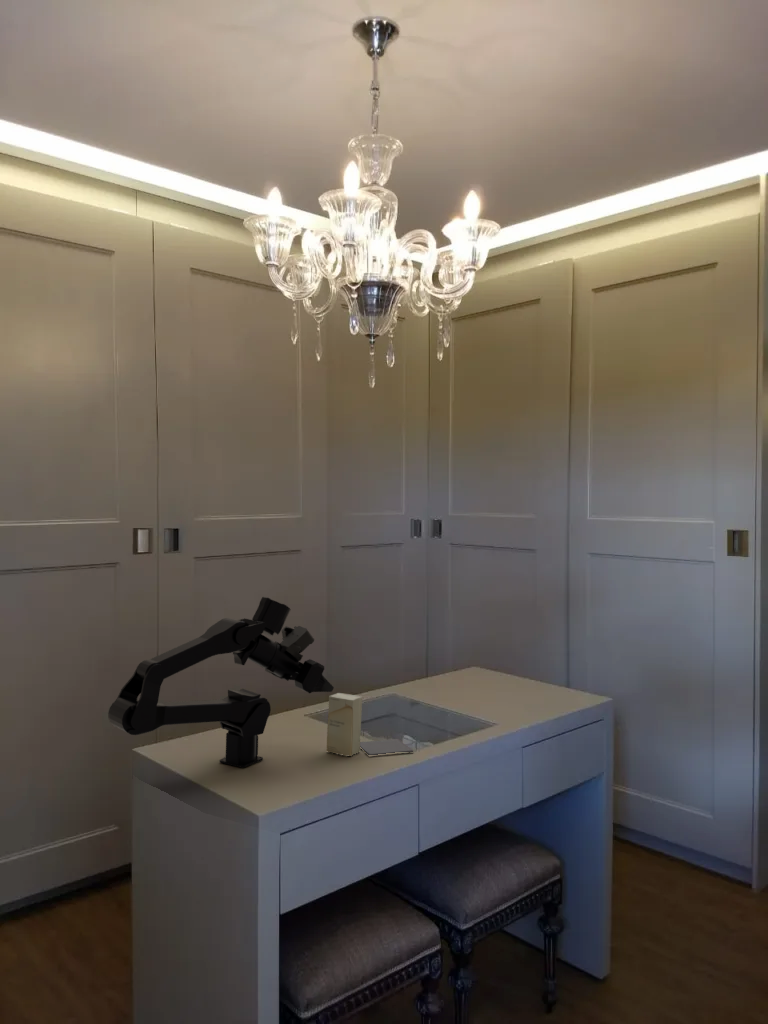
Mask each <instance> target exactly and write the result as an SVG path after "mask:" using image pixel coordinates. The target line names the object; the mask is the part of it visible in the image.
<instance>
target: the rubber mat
mask: <svg viewBox="0 0 768 1024" xmlns="http://www.w3.org/2000/svg"><path fill="white" fill-rule="evenodd" d="M360 747H361V748H362V749H363V750H364V751H365V752H366V753H367V754H368V755H378V754H386V753H395V752H413V753H414V750H413V748H411V747H410V746H408V745H407V744H405V743H404V742H403V741H402V740H400V739H399V738H392V739H380V740H368V741H366V740H365V741H360ZM368 755H367V756H368Z"/></svg>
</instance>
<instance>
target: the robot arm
mask: <svg viewBox="0 0 768 1024" xmlns="http://www.w3.org/2000/svg"><path fill="white" fill-rule="evenodd" d="M290 612H291V608H290V607H289V606H288V605H286V604H285V603H282V602H279V601H276V600H273V599H271V598H269V596H268V597H267V596H262V597H261V599H260V601H259V603H258V606H257V609H256V610H255V613H254V615H253V617H252V619H250V618H239V619H235V618H229V617H226V618H222V619H220V620H219V621H217V622H216V623H213V624H212V625H211V626H210V627H208V628H207V629H206V631H205V632H204V633H202V635H200V636H199V637H197V638H194V639H192V640H189V641H188V642H186V643H183V644H180V645H178V646H177V647H174V648H172V649H170V650H168V651H165V652H162V653H161V654H158V655H155V656H154V657H152V658H150V659H145V660H142V661H141V662H140V663H139V664H138V665H137V666H136V669H135V671H134V672H133V674H132V676H131V677H130V678H129V679H128V680H127V682H126V683H125V684H124V685H123V686H122V688H121V689H120V692H119V694H118V695H117V698H116V699H115V701H113V702H112V704H111V705H110V706H109V709H108V712H107V714H108V721H109V723H110V724H111V725H112V726H113V727H114V728H117V729H119V730H121V731H123V732H125V733H126V734H128V735H131V736H138V735H139V736H140V735H142V734H147V733H151V732H154V731H156V730H157V729H159V728H162V727H163V726H170V725H171V726H172V725H185V724H201V723H215V722H217V723H218V722H219V723H220V727H221V729H222V730H226V731H227V732H226V734H225V757H223V758H221V759H219V763H221V764H225V765H229V766H233V767H238V768H242V769H243V768H246V767H249V766H251V765H254V764H256V763H258V762H261V761H263V760H264V757H263V756H259V755H258V754H259V735H263V734H264V732H265V729H266V726H267V722H268V719H269V717H270V715H271V704H270V702H269V700H268V699H267V698H265V697H263V696H261V694H260V693H257V692H254V691H251V690H249V689H246V688H241V689H238V690H233V689H228V690H227V696H226V697H224V698H223V699H222V698H221V699H209V700H188V701H186V700H185V701H169V702H167V701H165V702H162V701H161V702H159V697H160V691H161V687H162V684H163V682H164V680H165V679H167V678H169V677H171V676H174V675H175V674H178V673H179V672H180V673H181V672H182V671H184V670H187V669H188V668H190V667H192V666H195V665H197V664H198V663H201V662H203V661H205V660H207V659H209V658H212V657H214V656H217V655H224V654H232V655H233V660H234V664H237V665H240V666H245V665H246V663H247V661H248V660H249V661H251V662H252V663H255V664H256V665H257V666H259V667H261V668H263V669H264V670H265V672H267V673H269V674H270V675H272V676H274V677H276V678H279V679H281V680H285V681H288V682H289V681H294V684H295V687H297V688H299V689H300V690H302V691H304V692H306V693H308V694H311V693H332V692H333V691H334V688H335V687H334V686H333V685H332V684H331V682H329V680H327V678H326V677H325V676H324V675H323V673H324V670H325V665H323V664H321V663H320V662H317V661H315V660H312V659H311V658H309V659H307V660H304V661H303V662H301V661H302V659H303V657H304V655H303V654H301V653H303V652H304V651H305V650H306V649H307V648H308V647H309V646H310V645H312V644H313V643H314V642H315V638H314V636H312V634H311V632H310V631H309V629H308V628H307V627H303V626H300V625H298V626H294V627H293V628H291V627H289V626H287V625H286V626H285V627H284V625H285V623H286V621H287V619H288V616H289V614H290ZM280 633H281V635H282V639H281V640H282V641H281V642H280V643H279V642H278V641H274V640H273V639H270V638H269V637H273V636H274V634H275V635H276V636H279V634H280ZM263 634H264V635H263ZM265 635H266V636H265ZM267 636H268V637H267ZM138 697H139V698H138Z"/></svg>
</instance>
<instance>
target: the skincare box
mask: <svg viewBox="0 0 768 1024" xmlns="http://www.w3.org/2000/svg"><path fill="white" fill-rule="evenodd" d="M362 708H363V696H362V695H360V696H359V695H354V694H349V693H342V692H337V693H334V694H331V695H329V696H328V712H327V713H328V715H327V732H326V734H327V735H326V750H325V751H328V752H333V753H338V754H343V755H349V756H351V755H353V754H355V753H357V752H359V751H361V749H360V742H361V731H362V730H361V729H362ZM328 752H327V753H328ZM333 753H332V754H333ZM359 753H360V752H359ZM338 754H337V755H338ZM357 754H358V753H357ZM355 755H356V754H355ZM353 756H354V755H353ZM351 757H352V756H351Z"/></svg>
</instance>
